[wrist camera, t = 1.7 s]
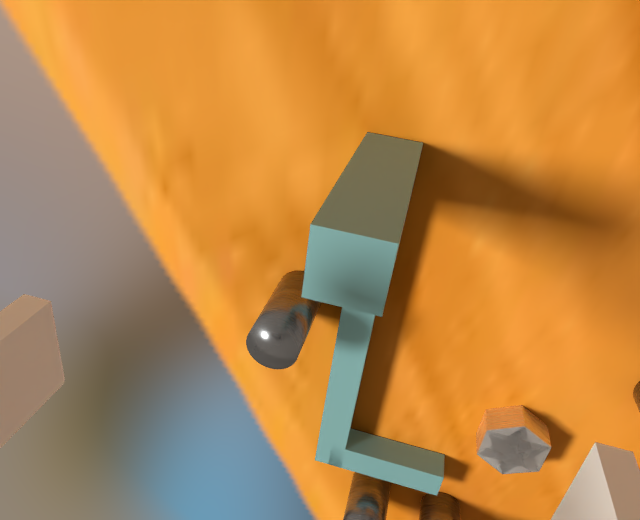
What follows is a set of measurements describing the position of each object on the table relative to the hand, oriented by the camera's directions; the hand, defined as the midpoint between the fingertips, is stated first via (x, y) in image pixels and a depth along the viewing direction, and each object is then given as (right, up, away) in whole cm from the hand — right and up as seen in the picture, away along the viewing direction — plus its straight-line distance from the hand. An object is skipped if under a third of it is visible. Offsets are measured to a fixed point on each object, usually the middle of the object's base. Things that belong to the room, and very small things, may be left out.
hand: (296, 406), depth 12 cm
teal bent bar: (+6, -1, +20) cm, 21 cm away
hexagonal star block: (+14, -8, +22) cm, 27 cm away
